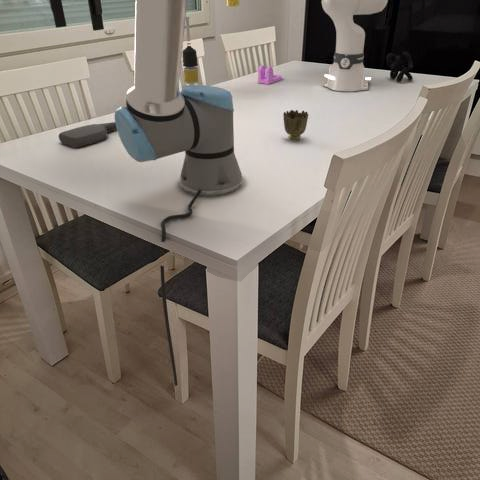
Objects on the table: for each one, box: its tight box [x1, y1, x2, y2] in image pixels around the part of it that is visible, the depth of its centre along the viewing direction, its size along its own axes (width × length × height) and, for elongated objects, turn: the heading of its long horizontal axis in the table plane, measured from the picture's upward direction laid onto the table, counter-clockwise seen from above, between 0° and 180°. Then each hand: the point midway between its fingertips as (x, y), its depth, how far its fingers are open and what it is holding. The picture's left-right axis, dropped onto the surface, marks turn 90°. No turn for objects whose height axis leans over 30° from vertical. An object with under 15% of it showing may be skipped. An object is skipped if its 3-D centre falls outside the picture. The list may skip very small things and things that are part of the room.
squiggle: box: [385, 51, 414, 83], centre depth 198 cm, size 11×10×15 cm
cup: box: [282, 109, 309, 142], centre depth 134 cm, size 8×7×8 cm
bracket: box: [257, 65, 283, 85], centre depth 202 cm, size 13×6×7 cm, turn 143°
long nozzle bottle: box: [182, 16, 200, 85], centre depth 166 cm, size 6×6×30 cm
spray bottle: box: [58, 121, 117, 148], centre depth 142 cm, size 3×11×24 cm
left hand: (79, 28), depth 109 cm, fingers open, 13 cm apart
